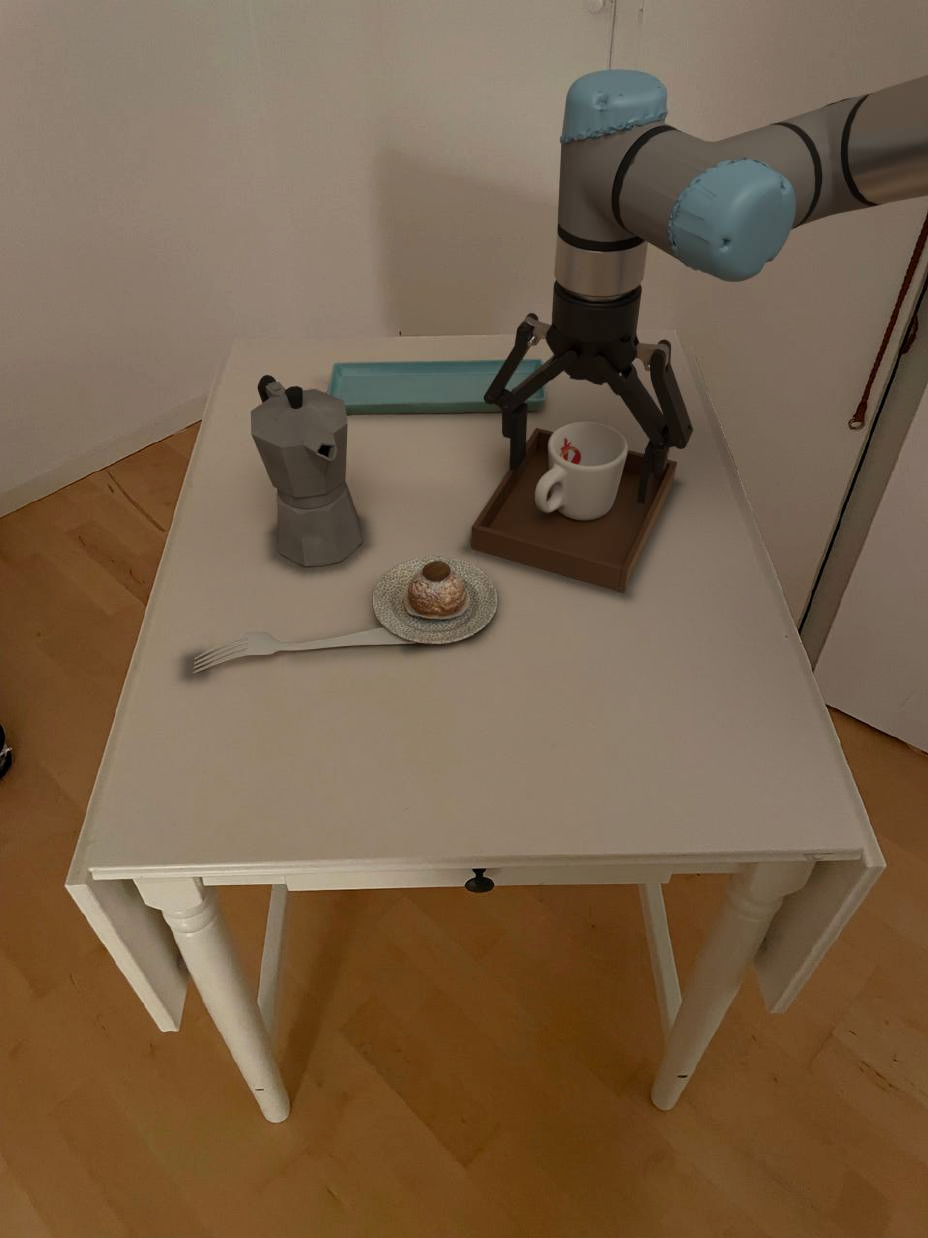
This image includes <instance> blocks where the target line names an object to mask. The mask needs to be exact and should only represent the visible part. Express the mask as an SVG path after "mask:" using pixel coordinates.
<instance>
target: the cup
mask: <svg viewBox="0 0 928 1238" xmlns="http://www.w3.org/2000/svg"><path fill="white" fill-rule="evenodd" d="M553 432H554V433H553V434H552V435H551V437H550V439H549V442H548V457H549V471H548V472H547V473H545V474H544V475H543V476H542V477H541V479H540V480H539V482H538V484H537V486H536V490H535V502H536V505H537V507H538V508H539V509H540V510H541V511H543V512H545V513H550V512H553V511H555V510H556V509H557V510H558V511H559V512H560V513H561V514H563V515H564V516H566V517H568V518H571V519H575V520H582V521H585V520H593V519H597V518H599V517H601V516H603V515H605V514H606V513H607V512H608V511H609V510H610V509H611V507H612V505H613V503H614V501H615V498H616V494H617V490H618V487H619V483H620V479H621V475H622V472H623V468H624V464H625V460H626V457H627V453H628V450H629V445H628V442H627V439H626V437H625V436H624V435H623V434H622V433H621V432H620V431H619V430H617V428H616V429H615V428H614V427H612V426H610V425H608V424H605V423H602V422H597V421H588V420H583V421H574V422H570V423H566V424H564V425H561V426H560V427H558V428H557V429H556V430H555V431H553ZM550 488H551V497H550V499H549V500H548V501H547V494H548V492H549V490H550Z"/></svg>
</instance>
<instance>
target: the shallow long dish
mask: <svg viewBox="0 0 928 1238" xmlns="http://www.w3.org/2000/svg"><path fill="white" fill-rule="evenodd" d="M505 360H506V359H478V360H475V359H470V360H469V359H468V360H467V359H466V360H418V361H417V360H413V361H412V360H409V361H407V360H406V361H403V360H401V361H354V362H353V361H352V362H335V363H333V365H332V369H331V375H330V380H329V384H328V389H327V394H329V395H331V396H334V397H336V398H339V399H341V400H343V401H344V402H345V408H346V415H383V414H384V415H387V414H389V415H391V414H393V415H395V414H396V415H397V414H403V415H404V414H448V413H449V414H452V413H492V412H494V413H495V412H496V413H497V412H502V411H501V409H500V407H499V406H497V405H495V404H494V403H493V404H491V405H490V404H487V403H486V402H485V401H484V398H483V397H484V395H485V393H486V392H487V390H488V388H489V387H490V385H491V383H492V382H493V380H494V379H495V377H496V375H497V374H498V372H499V370H500V369H501V367H502V365H503V364H504V362H505ZM543 364H544V360H543V359H542V358H523V360H522V361H521V363H520V364H519V366H518V368H517V369H516V371H515V372H514V374H513V375H512V377H511V379H510V380H509V382H508V383H507V385H506V387H505V389H507V390H509V391H512V389H513V388H516V387H517V386H518V385H519V384H520V383H522V382H523V381H524V380H525V379H526V378H527V377H529V376H530V375H531V374H532V373H533V372H535V371H536V370H537V369H538V368H539V367H541V366H542V365H543ZM546 400H547V391H546V384H545V385H544V386H543V387H542V388H540V389H539V390H538V391H537V392H536V393H534V394H533V395H532V396H531V397H529V398H528V399H527V400H526V401H525V402H523V403H527V404H528V408H527V412H532V411H533V412H535V411H538V410H539V409H541V406H542V405H543V404H544V402H545V401H546Z"/></svg>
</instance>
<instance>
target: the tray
mask: <svg viewBox="0 0 928 1238" xmlns="http://www.w3.org/2000/svg"><path fill="white" fill-rule="evenodd" d="M554 432H555V431H551V430H547V429H543V428H539V427H535V428H534V430H533V432H532V433H531V435H530V436H529V438H528V439H527V440H526V457H525V458H524V460H523V461H522V463H521V464H520V466H519V468H518V469H517V471H513V470H509V469H508V470H507V472H506V473H505V475H504V476H503V478H502V480H501V481H500V483H499V484H498V486H497V487H496V489H495V490H494V492H493V493H492V495H491V496H490V497H489V500H488V501H487V502H486V504H485V506H484V507H483V509H482V510H481V512H480V514H479V515H478V516H477V518H476V520H475V521H474V523H473V524H472V526H471V550H475V551H477V552H481V553H484V554H487V555H491V556H495V557H499V558H502V559H506V560H509V561H512V562H515V563H519V564H523V565H527V566H530V567H533V568H536V569H540V570H542V571H543V570H544V571H548V572H551V573H554V574H557V575H561V576H564V577H568V578H572V579H574V580H575V579H576V580H577V581H581V582H585V583H589V584H592V585H595V586H599V587H602V588H605V589H606V588H607V589H610V590H613V591H616V592H619V593H623V594H624V593H625V592H626V590H627V588H628V585H629V583H630V581H631V579H632V576H633V574H634V572H635V570H636V568H637V565H638V564H639V561H640V558H641V557H642V554H643V552H644V550H645V547H646V545H647V543H648V541H649V539H650V536H651V534H652V532H653V530H654V528H655V525H656V523H657V521H658V519H659V516H660V514H661V512H662V510H663V507H664V506H665V503H666V501H667V499H668V496H669V493H671V489H672V487H673V485H674V482H675V476H676V472H677V467H678V461H676V460H671V459H668V460H667V464H666V466H665V468H664V471H663V472H662V474H661V475H657V474H654V478H653V484H652V489H651V491H650V493H649V495H648V497H647V499H646V501H645V503H644V504H642V503H638V502H637V498H638V492H639V485H640V479H641V472H642V466H643V459H644V453H642V452H639V451H636V450H635V451H634V450H630V449H628V453H627V457H626V460H625V464H624V468H623V472H622V475H621V479H620V483H619V487H618V490H617V494H616V498H615V501H614V503H613V505H612V507H611V509H610V510H609V511H608V512H607V513H606V514H605V515H603V516H601V517H599V518H597V519H593V520H585V521H582V520H575V519H571V518H568V517H566V516H564V515H563V514H561V513H560V512H559V511H558V510H557V509H556V510H555V511H553V512H550V513H545V512H543V511H541V510H540V509H539V508H538V507H537V505H536V502H535V490H536V486H537V484H538V482H539V480H540V479H541V477H542V476H543V475H544V474H545V473H547V472H548V471H549V457H548V442H549V439H550V437H551V435H552V434H553V433H554ZM550 497H551V488H550V490H549V492H548V494H547V501H548V500H549V499H550Z"/></svg>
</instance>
